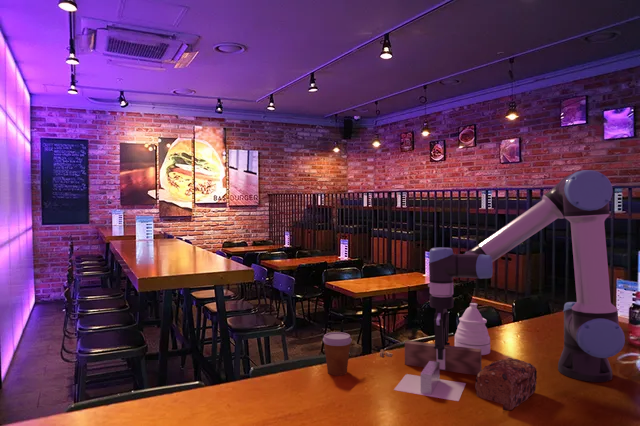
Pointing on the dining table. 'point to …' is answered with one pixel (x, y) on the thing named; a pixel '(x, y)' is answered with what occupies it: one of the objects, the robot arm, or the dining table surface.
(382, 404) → the dining table surface
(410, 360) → the walnut beam
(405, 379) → the base plate
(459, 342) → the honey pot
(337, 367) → the disposable coffee cup
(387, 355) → the dice set
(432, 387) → the steel ridge
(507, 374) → the bread
